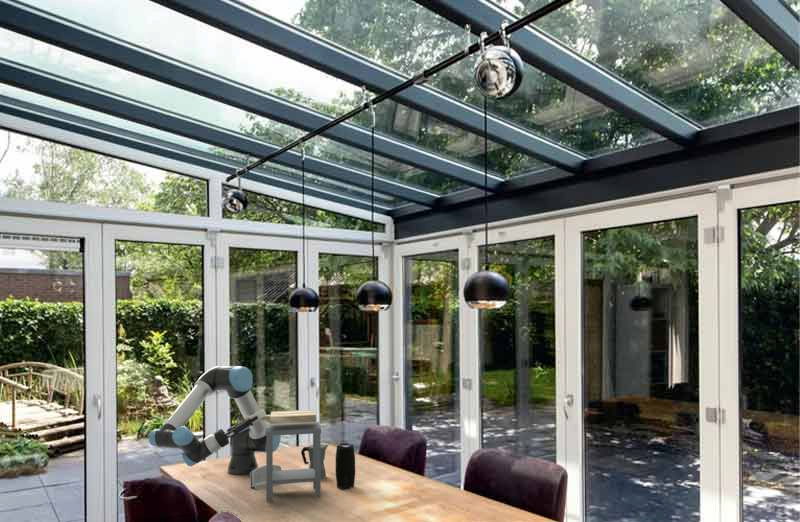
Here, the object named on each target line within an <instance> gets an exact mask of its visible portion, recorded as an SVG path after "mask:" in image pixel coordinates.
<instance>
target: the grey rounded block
mask: <svg viewBox="0 0 800 522" xmlns="http://www.w3.org/2000/svg"><path fill="white" fill-rule="evenodd" d="M279 470H282V467H281V466H280V465H278V464H273V471H279ZM249 484H250V486H249V487H252V488H254V490H255V489H256V490H260V489H259V488H261V489H264V487H265V488H266V464H265V465H262V466H258V468H256V469H255V470H253V471H251V473H249ZM273 485H274V486H278V484H273Z"/></svg>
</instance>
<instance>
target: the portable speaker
mask: <svg viewBox="0 0 800 522" xmlns="http://www.w3.org/2000/svg"><path fill="white" fill-rule="evenodd" d="M355 478H356V454H355V447H354V444H353V443H352V444H351V443H347V442H342V443H339V444H338V445H336V452H335V480H336V489H337V488H340V489H341V490H342V491H347V490H350V489H351V488H354V487H355Z"/></svg>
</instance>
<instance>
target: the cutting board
mask: <svg viewBox="0 0 800 522" xmlns="http://www.w3.org/2000/svg"><path fill="white" fill-rule="evenodd" d="M265 415H266V416H264V417H262V418H261V419H259V420H257V421H267V422H269V423H270V424H284V423H305V422H317V413H316V410H315V409H301V410H298V409H297V410H296V409H295V410H279V411H278V410H276V411H274V410H273V411H270V414H265ZM250 417H252V416H246V417H245V421H246V420H248V419H250Z"/></svg>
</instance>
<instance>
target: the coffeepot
mask: <svg viewBox="0 0 800 522" xmlns="http://www.w3.org/2000/svg"><path fill="white" fill-rule="evenodd" d="M328 447H329V445H328V444H321V443H320V451H321V480H323V479H326V478H327V473H326V468H325V467H326V466H325V464H324V461H325V458H326V457H325V456H326V450H327V449H328ZM305 452H307V453H308V459H309V461H307V457H306V453H305ZM300 454H301V457H302V461H303V463H304V464H305V465H309V466H308V469H311V468H313V444H311V445H307V446H304V447H302V449H301V451H300Z"/></svg>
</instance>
